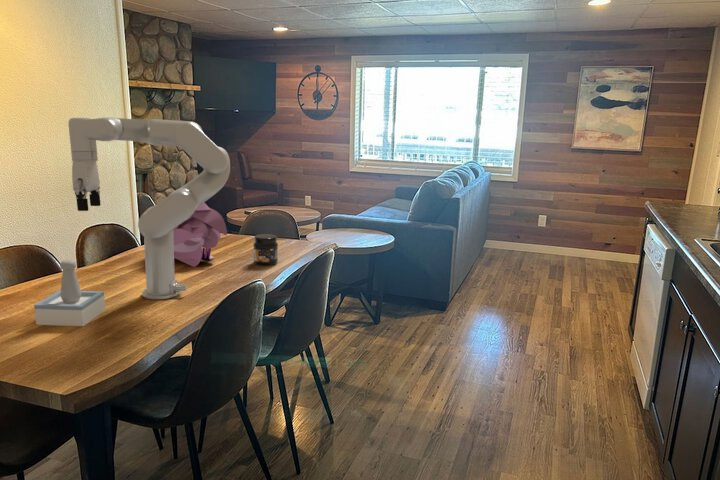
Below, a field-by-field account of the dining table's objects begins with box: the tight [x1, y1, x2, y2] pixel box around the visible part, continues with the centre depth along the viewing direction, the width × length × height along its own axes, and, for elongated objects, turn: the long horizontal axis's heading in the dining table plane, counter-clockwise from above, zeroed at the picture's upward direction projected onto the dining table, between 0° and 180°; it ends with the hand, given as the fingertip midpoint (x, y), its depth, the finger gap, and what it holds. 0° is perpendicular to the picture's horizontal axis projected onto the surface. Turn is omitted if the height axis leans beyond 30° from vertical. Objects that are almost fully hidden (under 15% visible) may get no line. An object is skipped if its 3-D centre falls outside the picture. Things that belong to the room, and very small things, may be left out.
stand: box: [33, 289, 106, 327], centre depth 165 cm, size 14×14×6 cm
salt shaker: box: [59, 259, 82, 304], centre depth 163 cm, size 6×6×13 cm
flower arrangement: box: [173, 202, 228, 268], centre depth 233 cm, size 35×24×28 cm
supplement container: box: [252, 233, 279, 266], centre depth 233 cm, size 10×10×12 cm
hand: (89, 208), depth 178 cm, fingers open, 9 cm apart
